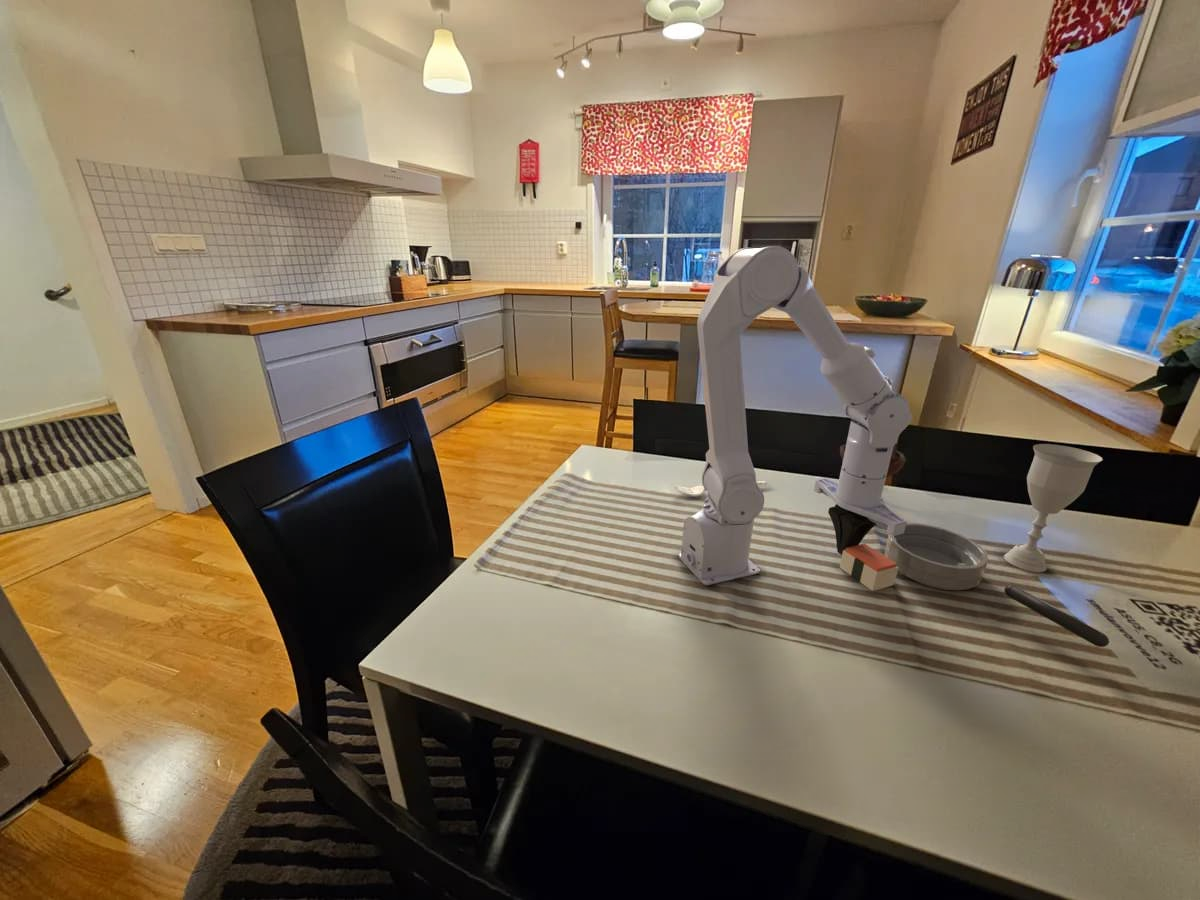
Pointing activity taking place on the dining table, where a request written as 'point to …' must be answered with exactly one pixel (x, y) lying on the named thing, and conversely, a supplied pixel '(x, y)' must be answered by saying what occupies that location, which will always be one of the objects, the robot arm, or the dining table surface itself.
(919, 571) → the pan
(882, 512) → the robot arm
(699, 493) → the cooking utensil
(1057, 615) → the pan handle
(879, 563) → the sushi
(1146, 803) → the dining table surface
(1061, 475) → the chalice
